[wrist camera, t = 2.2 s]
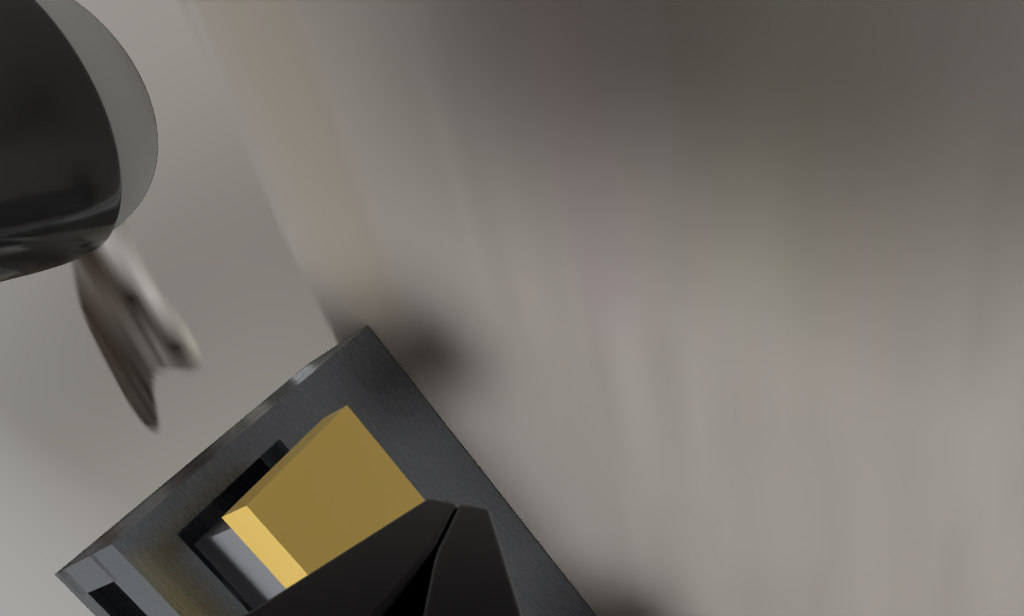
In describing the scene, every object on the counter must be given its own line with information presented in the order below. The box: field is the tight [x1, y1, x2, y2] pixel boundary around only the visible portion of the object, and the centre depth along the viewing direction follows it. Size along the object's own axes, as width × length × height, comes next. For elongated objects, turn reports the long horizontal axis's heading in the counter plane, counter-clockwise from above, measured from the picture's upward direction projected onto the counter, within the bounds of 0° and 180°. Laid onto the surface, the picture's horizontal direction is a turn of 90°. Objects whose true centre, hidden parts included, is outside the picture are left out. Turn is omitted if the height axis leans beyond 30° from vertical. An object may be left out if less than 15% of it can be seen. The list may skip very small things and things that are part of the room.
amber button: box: [194, 405, 425, 609], centre depth 17 cm, size 5×4×4 cm
